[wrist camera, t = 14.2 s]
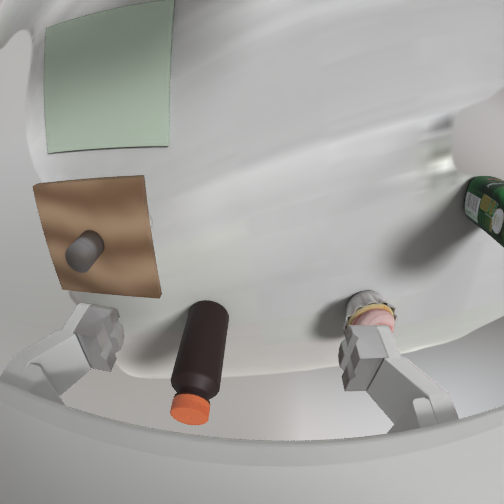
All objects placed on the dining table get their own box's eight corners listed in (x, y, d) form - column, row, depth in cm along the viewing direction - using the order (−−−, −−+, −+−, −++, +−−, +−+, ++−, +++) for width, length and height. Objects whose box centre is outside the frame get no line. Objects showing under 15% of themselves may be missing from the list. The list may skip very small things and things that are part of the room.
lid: (36, 183, 32) (13, 198, 27) (144, 175, 31) (126, 190, 27) (65, 285, 40) (49, 306, 35) (161, 293, 39) (151, 319, 35)
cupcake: (338, 328, 52) (348, 372, 44) (336, 287, 48) (349, 332, 39) (387, 319, 51) (403, 360, 42) (390, 277, 46) (412, 318, 38)
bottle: (188, 324, 53) (162, 422, 36) (191, 295, 49) (162, 398, 32) (225, 332, 53) (212, 432, 36) (232, 304, 50) (219, 410, 33)
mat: (48, 28, 27) (46, 28, 27) (174, 0, 27) (173, -1, 27) (49, 152, 37) (48, 153, 37) (169, 145, 37) (168, 145, 37)
